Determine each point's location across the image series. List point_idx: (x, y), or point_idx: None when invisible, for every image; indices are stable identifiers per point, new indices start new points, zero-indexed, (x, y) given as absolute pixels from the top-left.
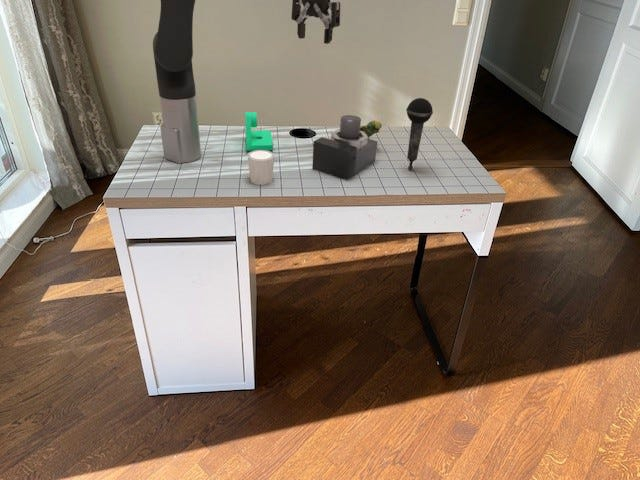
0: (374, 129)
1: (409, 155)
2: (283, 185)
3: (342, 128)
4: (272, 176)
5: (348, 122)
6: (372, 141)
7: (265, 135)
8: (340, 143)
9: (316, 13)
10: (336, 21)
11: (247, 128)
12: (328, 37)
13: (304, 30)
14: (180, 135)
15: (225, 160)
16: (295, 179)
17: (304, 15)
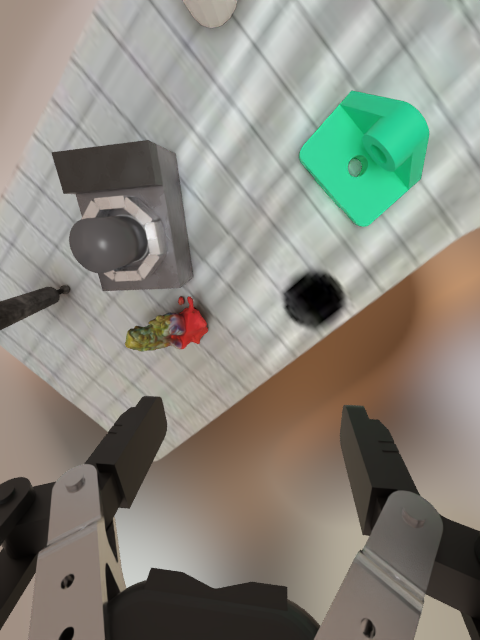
0: (134, 328)
1: (44, 289)
2: (156, 17)
3: (109, 218)
4: (189, 10)
5: (81, 220)
6: (108, 283)
7: (352, 192)
8: (99, 183)
9: (154, 631)
10: (19, 561)
11: (376, 101)
12: (119, 426)
13: (351, 476)
14: None
15: (365, 5)
16: (162, 73)
17: (343, 589)
